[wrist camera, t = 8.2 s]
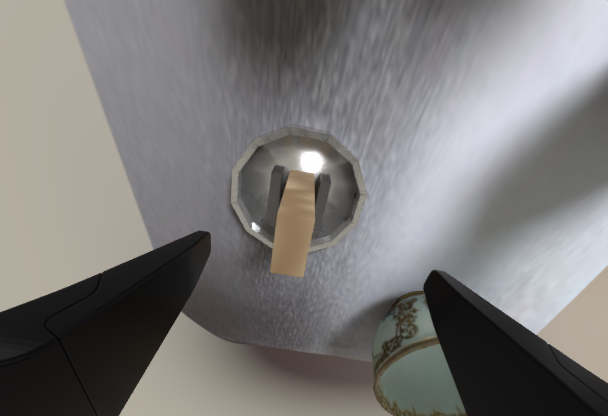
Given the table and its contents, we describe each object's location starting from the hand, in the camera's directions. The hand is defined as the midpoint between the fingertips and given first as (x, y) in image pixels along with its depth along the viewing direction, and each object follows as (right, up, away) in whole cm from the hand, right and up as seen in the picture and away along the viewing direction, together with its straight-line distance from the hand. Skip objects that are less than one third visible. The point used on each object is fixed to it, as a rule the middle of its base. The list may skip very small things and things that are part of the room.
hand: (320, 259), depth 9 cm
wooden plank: (-1, +3, +11) cm, 11 cm away
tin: (-1, +4, +11) cm, 12 cm away
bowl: (+13, -10, +18) cm, 24 cm away
